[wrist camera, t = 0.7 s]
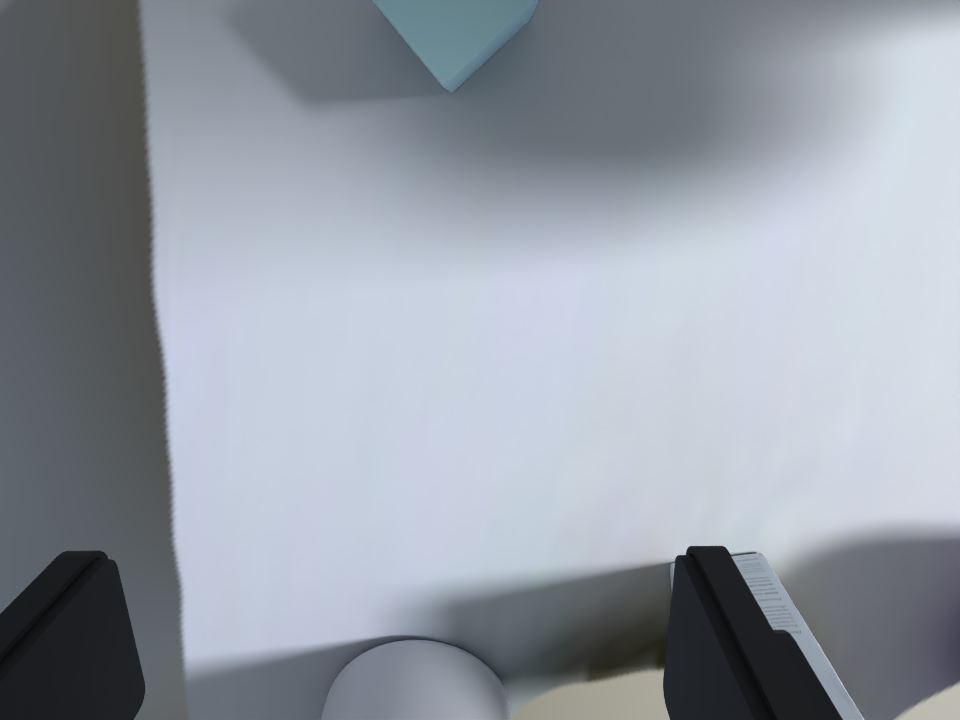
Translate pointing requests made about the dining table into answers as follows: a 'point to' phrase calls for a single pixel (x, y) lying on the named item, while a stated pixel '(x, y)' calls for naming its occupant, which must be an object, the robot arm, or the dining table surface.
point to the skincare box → (791, 626)
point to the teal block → (456, 32)
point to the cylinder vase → (416, 685)
